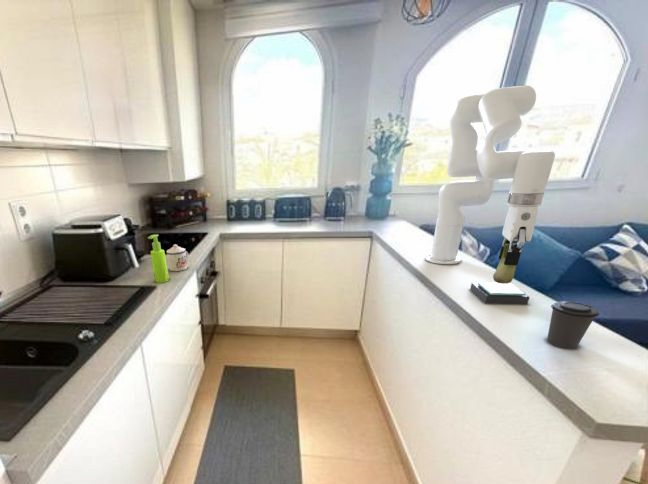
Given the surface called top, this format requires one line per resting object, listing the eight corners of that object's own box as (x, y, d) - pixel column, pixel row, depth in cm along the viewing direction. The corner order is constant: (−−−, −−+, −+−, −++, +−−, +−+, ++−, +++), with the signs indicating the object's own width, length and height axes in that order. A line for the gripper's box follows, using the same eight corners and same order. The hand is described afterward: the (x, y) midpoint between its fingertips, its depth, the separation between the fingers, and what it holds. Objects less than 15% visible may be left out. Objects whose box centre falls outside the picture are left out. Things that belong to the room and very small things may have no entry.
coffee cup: (594, 347, 80) (611, 308, 76) (569, 354, 78) (584, 315, 74) (555, 332, 87) (568, 296, 83) (531, 339, 85) (543, 302, 81)
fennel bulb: (513, 286, 103) (524, 247, 98) (493, 285, 105) (503, 246, 100) (509, 280, 107) (520, 242, 103) (490, 279, 110) (500, 241, 105)
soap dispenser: (151, 283, 148) (143, 236, 140) (160, 277, 154) (152, 233, 145) (163, 283, 146) (155, 236, 138) (171, 278, 152) (164, 233, 143)
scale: (470, 289, 116) (471, 281, 114) (508, 290, 113) (510, 282, 112) (484, 303, 105) (487, 294, 104) (527, 304, 102) (530, 295, 101)
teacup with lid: (178, 272, 159) (175, 247, 154) (165, 270, 164) (161, 246, 159) (195, 265, 167) (192, 241, 163) (182, 263, 173) (179, 240, 168)
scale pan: (477, 284, 112) (478, 282, 112) (509, 284, 110) (510, 282, 110) (490, 295, 104) (490, 293, 104) (525, 295, 102) (525, 293, 102)
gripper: (553, 203, 87) (532, 271, 95) (531, 195, 101) (514, 254, 109) (516, 204, 90) (499, 269, 98) (500, 196, 104) (486, 254, 112)
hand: (507, 261), depth 103 cm, fingers closed on fennel bulb, 5 cm apart
